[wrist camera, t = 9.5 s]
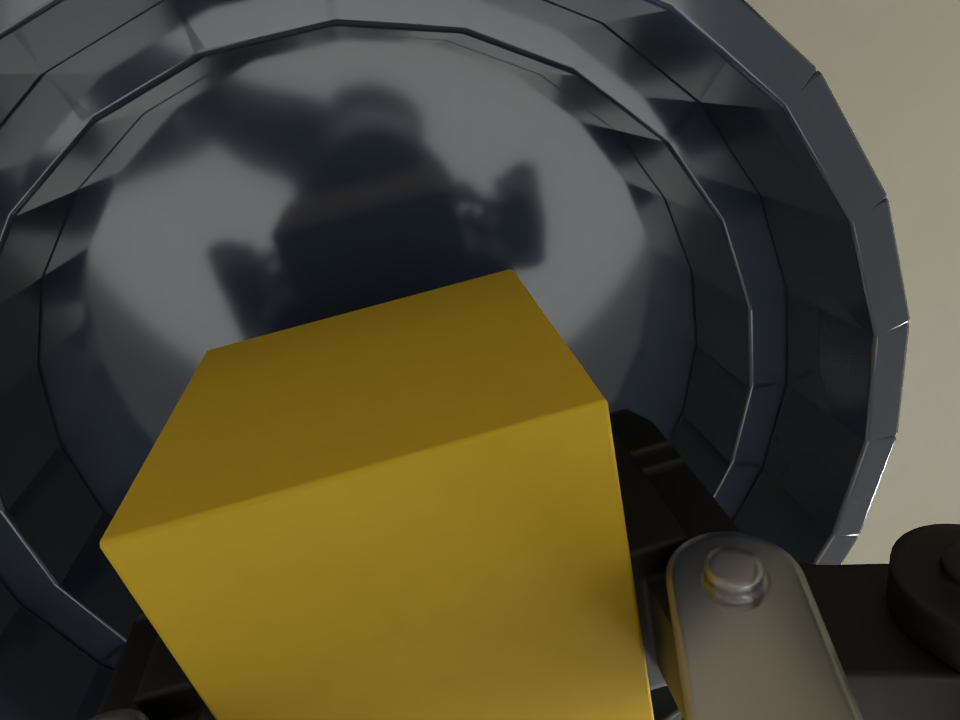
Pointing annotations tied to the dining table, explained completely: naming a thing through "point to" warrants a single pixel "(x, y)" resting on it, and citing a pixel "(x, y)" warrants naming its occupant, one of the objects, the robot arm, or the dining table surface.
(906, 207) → the dining table surface
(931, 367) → the dining table surface
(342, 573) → the sponge
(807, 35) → the dining table surface
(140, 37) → the bowl
